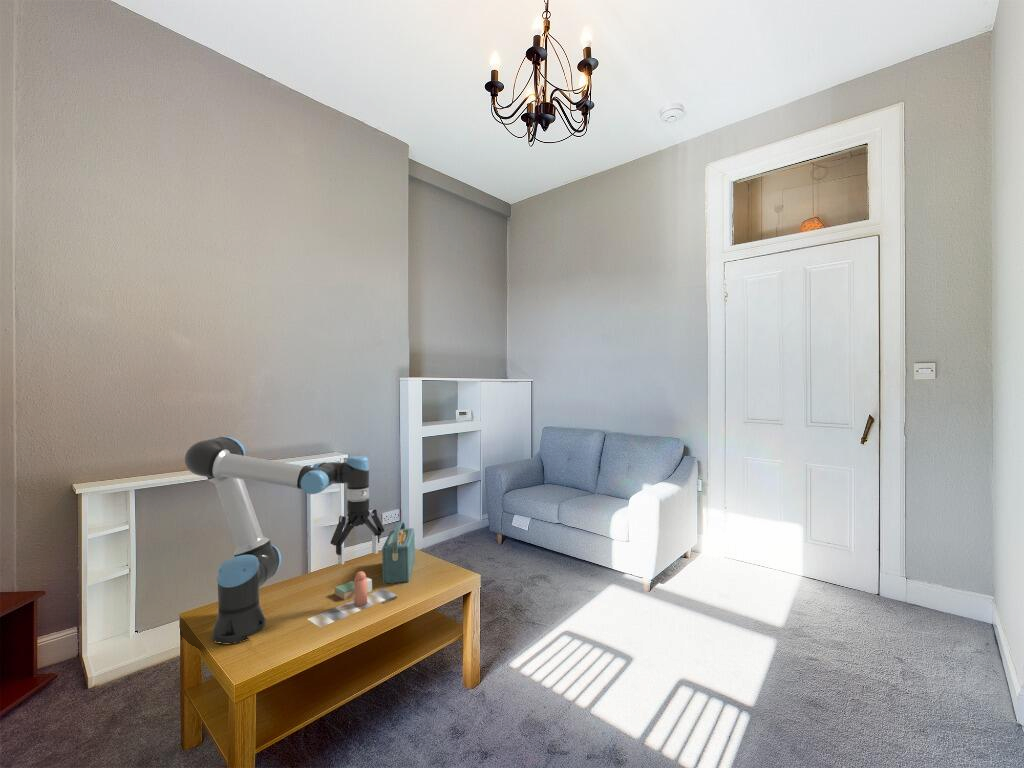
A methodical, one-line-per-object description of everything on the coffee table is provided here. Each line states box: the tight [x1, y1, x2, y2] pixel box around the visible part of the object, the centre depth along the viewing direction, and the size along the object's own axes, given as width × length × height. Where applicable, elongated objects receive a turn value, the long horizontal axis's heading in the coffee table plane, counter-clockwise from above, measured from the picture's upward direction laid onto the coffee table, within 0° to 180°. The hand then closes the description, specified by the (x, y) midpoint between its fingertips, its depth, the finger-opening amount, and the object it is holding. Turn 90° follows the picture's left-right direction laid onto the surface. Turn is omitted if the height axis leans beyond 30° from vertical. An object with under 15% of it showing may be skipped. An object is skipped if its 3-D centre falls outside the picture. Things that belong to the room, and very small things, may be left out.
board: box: [307, 588, 398, 628], centre depth 167 cm, size 30×9×1 cm, turn 139°
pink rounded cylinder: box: [353, 570, 368, 607], centre depth 169 cm, size 4×4×12 cm
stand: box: [334, 581, 355, 601], centre depth 177 cm, size 7×7×4 cm
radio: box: [381, 521, 416, 585], centre depth 201 cm, size 26×11×20 cm, turn 6°
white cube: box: [367, 577, 373, 594], centre depth 182 cm, size 4×4×4 cm
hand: (358, 557), depth 169 cm, fingers open, 13 cm apart
